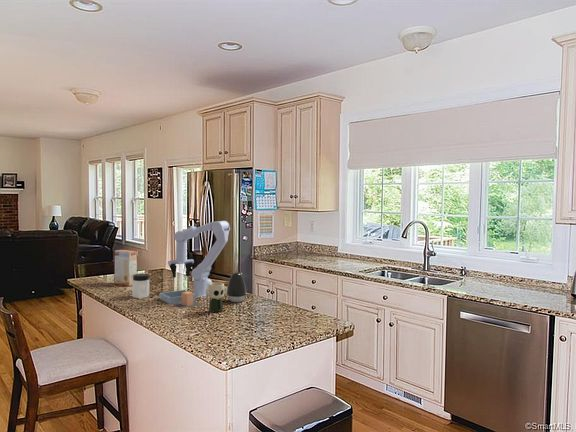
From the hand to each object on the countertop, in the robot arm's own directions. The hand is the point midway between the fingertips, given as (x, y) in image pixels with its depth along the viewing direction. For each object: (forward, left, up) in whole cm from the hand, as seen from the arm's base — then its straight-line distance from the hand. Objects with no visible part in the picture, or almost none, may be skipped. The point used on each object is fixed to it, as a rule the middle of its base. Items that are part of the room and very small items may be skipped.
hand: (180, 276), depth 239 cm
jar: (+21, -3, -10) cm, 23 cm away
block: (+8, +27, -9) cm, 30 cm away
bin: (+8, +15, -10) cm, 19 cm away
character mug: (+1, +45, -10) cm, 46 cm away
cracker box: (+18, -41, -10) cm, 46 cm away
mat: (+8, +28, -10) cm, 30 cm away
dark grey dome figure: (-17, +33, -10) cm, 38 cm away
